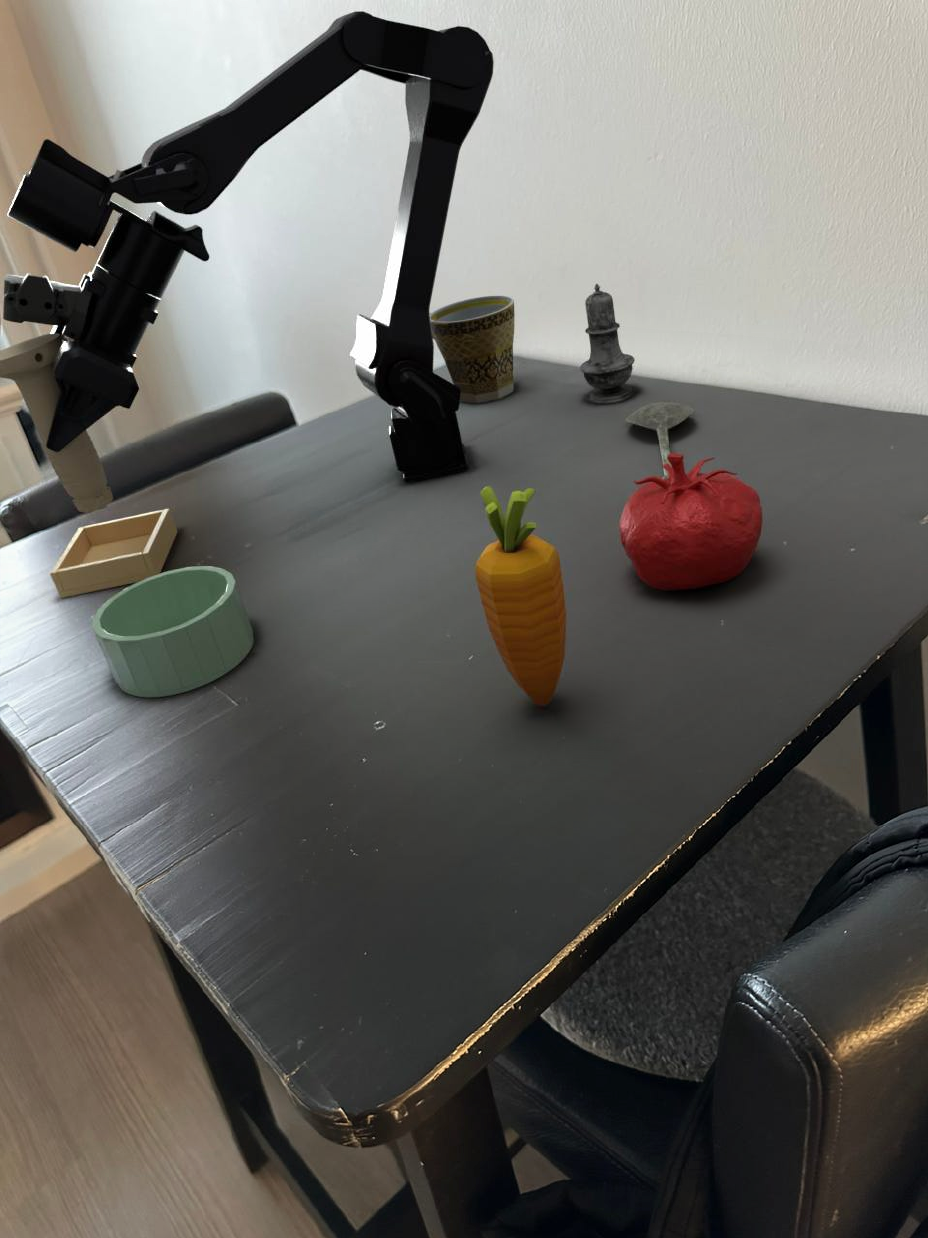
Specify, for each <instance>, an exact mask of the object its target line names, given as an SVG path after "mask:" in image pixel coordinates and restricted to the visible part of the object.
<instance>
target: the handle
mask: <svg viewBox="0 0 928 1238" xmlns="http://www.w3.org/2000/svg"><path fill="white" fill-rule="evenodd" d="M62 344H64V341H63V340H62V339H61V336H60V334H57V333H52V334H50V333H46V334H42V335H38V336H35V337H33V338H29V339H26V340H24V341H23V340H22V341H21V342H18V343H16V344H13V345H11V346H8V347H6V348H4V349H1V350H0V378H1V379H7V380H11V381H13V382H14V383H15V385H16V387H17V388H18V390H19V391H20V393H21V396H22V398H23V400H24V403H25V405H26V408H27V410H28V412H29V415H30V417H31V419H32V422H33V425H34V427H35V429H36V431H37V434H38V437H39V439H40V441H41V444H42V447H43V449H44V452H45V454H46V456H47V459H48V460H49V461H48V462H49V463H50V465H51V467H52V469H53V470H54V473H55V474H56V476H57V477H58V480H59V482H60V483H61V485H62V486H63V488H64V489H65V491H66V492H67V494H68V495H69V496H70V497H71V498H73V499H72V503H73V506H75V508H76V509H77V511H78V512H79V513H84V514H92V513H93V512H96V511H101V510H103V509H105V508H107V507H108V505H109V504H110V503H112V502H113V501H114V495H113V492H112V490H111V487H110V486H107V484H108V480H107V477H106V473H105V469H104V467H103V464H102V460H101V459H100V456H99V454H98V452H97V451H98V450H97V449H96V447H95V444H94V442H93V440H92V438H91V436H90V435H89V432H88V430H87V429H86V430H85V431H84V432H83V433H81V434H80V435H79V436H78V437H76V438H75V439H74V440H73V441H72V442H70V443H69V444H68V445H67V446H65V447H64V448H63V449H62V450H60V451H59V452H54V451H52V450H50V449H48V448H47V447H46V442H47V438H48V434H49V430H50V426H51V422H52V418H53V415H54V411H55V407H56V403H57V399H58V395H59V391H60V389H59V386H58V384H57V382H56V380H55V377H54V376H53V374H52V371H51V362H52V363H54V362H55V359H56V357H57V354H58V352H59V350H60V348H61V346H62Z"/></svg>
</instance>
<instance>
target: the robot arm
mask: <svg viewBox="0 0 928 1238" xmlns="http://www.w3.org/2000/svg"><path fill="white" fill-rule="evenodd" d="M494 64H495V61H494V54H493V52H492V51H491V49H490V48H489V45H488V43H487V41H486V40H485V38H484V37H483V35H481V34H480V33H479V32H478V31H477V30H474V29H472V28H471V27H469V26H460V25H457V26H453V27H452V26H451V27H448V28H444V29H440V30H435V29H432V28H428V27H424V26H418V25H415V24H414V25H413V24H407V23H403V22H398V21H393V20H389V19H384V18H382V17H378V16H375V15H372V14H371V13H368V12H367V11H363V10H361V11H351V12H350V13H347V14H344V15H342V16H340V17H337V18H336V19H335V20H333V22H332V23H331V25H330V26H329V27H328V28H327V30H325V31H324V32H323V33H321V34H320V35H319V36H318V37H316V38H315V39H314V40H312V41H311V42H310V43H308V44H307V45H306V46H304V47H303V48H302V49H300V50H299V51H298V52H296V53H295V54H294V55H293V56H292V57H290V58H289V59H287V60H286V61H285V62H284V63H282V64H281V65H280V66H278V67H277V68H276V69H274V70H273V71H272V72H271V73H269V74H268V75H267V76H265V77H264V78H263V79H261V80H260V81H258V82H257V83H256V84H255V85H254V86H252V87H251V88H250V89H248V90H247V91H246V92H244V93H243V94H242V95H241V96H239V97H237V99H235V100H234V101H233V102H231V103H230V104H228V105H227V106H226V107H224V108H223V109H220V110H219V111H216V112H214V113H213V114H212V113H211V114H210V115H208V116H206V117H204V118H202V119H199V120H197V121H194V122H193V123H190V124H188V125H186V126H184V127H182V128H180V129H178V130H176V131H173V132H172V133H170V134H168V135H165V136H164V137H162V138H159V139H157V140H155V141H154V142H152V143H151V144H150V145H149V147H147V149H146V150H145V151H144V153H143V156H142V158H141V162H139V163H138V164H136V165H132V166H131V167H128V168H126V169H124V170H119V169H116V171H115V173H114V174H112V175H110V176H107V175H105V174H103V173H102V172H100V171H98V170H96V169H95V168H93V167H91V166H90V165H88V164H86V163H84V162H83V161H81V160H79V159H78V158H76V157H74V156H73V155H71V154H70V153H69V151H67V150H66V149H64V148H63V147H62V146H60V145H59V144H57V143H56V142H55V141H52V140H50V139H49V138H45V139H43V141H42V143H41V146H40V148H39V150H38V152H37V154H36V156H35V158H34V160H33V162H32V164H31V166H30V169H29V171H28V173H27V172H25V173H24V175H23V177H22V180H21V182H20V184H19V186H18V189H17V191H16V193H15V195H14V198H13V199H12V203H11V205H10V206H9V209H8V212H7V217H9V218H10V219H12V220H15V221H17V222H18V223H20V224H22V225H23V226H25V227H27V228H29V229H32V230H33V231H35V232H36V233H39V234H40V235H42V236H44V237H46V238H48V239H50V240H51V241H54V242H55V243H57V244H59V245H61V246H63V247H64V248H66V249H68V250H70V251H72V252H73V253H77V252H78V251H79V249H80V248H81V245H84V246H86V247H87V248H88V247H91V248H92V249H95V248H96V246H97V245H98V243H99V241H100V240H101V237H102V236H103V234H104V232H105V229H106V227H107V225H108V222H109V221H110V219H111V216H112V213H113V212H114V211H115V212H116V213H118V214H119V215H118V216H117V219H116V222H115V224H114V225H113V228H112V230H111V232H110V234H109V235H108V238H107V240H106V243H105V244H104V247H103V248H102V251H101V253H100V254H99V257H98V259H97V261H96V263H95V266H94V267H93V270H92V271H89V272H88V274H87V273H84V274H83V276H82V278H81V281H80V282H79V284H78V285H74V284H69V283H64V282H60V281H53V280H49V277H48V276H47V275H43V276H40V275H39V276H38V275H33V274H32V272H27V273H26V275H25V276H23V275H16V274H5V275H4V279H3V307H2V319H3V320H4V321H7V322H11V323H16V324H22V323H24V322H26V323H33V324H40V325H41V324H42V325H47V326H53V327H52V329H51V331H50V333H49V334H52V333H57V334H60V336H61V339H62V341H63V343H64V344H62V346H61V348H60V350H59V352H58V354H57V357H56V359H55V362H54V363H52V362H51V371H52V374H53V376H54V377H55V380H56V382H57V384H58V386H59V389H60V391H59V395H58V399H57V403H56V407H55V411H54V415H53V418H52V422H51V426H50V430H49V434H48V438H47V442H46V447H47V448H48V449H50V450H52V451H54V452H59V451H60V450H62V449H63V448H64V447H65V446H67V445H68V444H69V443H70V442H72V441H73V440H74V439H75V438H76V437H78V436H79V435H80V434H81V433H83V432H84V431H85V430H86V431H87V430H88V429H89V428H90V427H92V426H93V425H94V424H95V423H97V422H98V421H99V420H101V419H102V418H103V417H104V416H106V415H107V414H108V413H110V412H111V411H112V410H114V409H115V408H117V407H121V408H125V409H128V410H130V409H131V407H132V405H133V403H134V400H135V399H136V397H137V395H138V393H139V390H140V386H139V384H138V382H137V379H136V376H135V374H134V370H133V367H134V365H135V363H136V361H137V358H138V357H137V354H136V352H137V349H138V347H139V345H140V343H141V341H142V340H143V337H144V335H145V333H146V330H147V329H148V327H149V325H150V324H151V325H154V324H155V322H156V320H157V318H158V316H159V312H158V311H157V308H158V306H159V304H160V302H161V299H162V298H163V296H164V294H165V292H166V290H167V288H168V286H169V283H170V282H171V279H172V277H173V275H174V274H175V272H176V269H177V268H178V265H179V263H180V261H181V259H182V257H183V255H184V253H185V252H186V253H188V254H190V255H192V256H193V257H195V258H196V259H198V260H200V261H202V262H208V261H209V260H210V254H209V252H208V250H207V247H206V245H205V241H204V235H203V234H204V233H203V231H204V230H203V227H201V226H200V225H198V224H194V225H191V226H188V227H184V226H182V225H180V224H179V223H177V222H175V221H174V220H172V219H170V218H169V217H167V216H165V215H164V214H161V213H160V212H158V211H156V210H153V211H152V212H151V213H150V214H149V215H148V217H147V219H145V218H143V217H141V216H140V215H138V214H136V213H134V212H132V211H130V210H129V209H127V208H125V207H124V206H122V205H120V204H118V203H117V202H115V201H113V200H112V199H111V198H112V196H113V194H115V193H116V194H117V195H119V196H121V197H122V198H125V200H128V201H130V202H131V203H133V204H138V205H139V204H154V203H155V204H159V205H160V206H162V207H163V208H165V209H168V210H170V211H171V212H173V213H176V214H181V215H189V216H190V215H191V216H192V215H196V214H199V213H201V212H204V211H205V210H207V209H208V208H209V207H211V206H212V205H213V204H214V202H215V201H216V200H217V199H218V198H219V197H220V196H221V194H222V193H223V192H224V191H225V190H226V189H227V188H228V187H229V186H230V184H231V183H232V182H233V181H234V180H235V179H236V177H237V176H238V175H239V173H240V172H241V170H242V169H243V168H244V166H245V165H246V164H247V163H248V161H249V160H250V159H251V157H252V156H253V155H254V154H255V153H256V152H257V151H258V149H259V148H261V147H262V146H263V145H265V144H266V143H267V142H268V141H270V140H271V139H272V138H273V137H275V136H276V135H278V134H279V133H280V132H282V131H283V130H284V129H285V128H287V127H288V126H289V125H290V124H292V123H293V122H294V121H296V120H297V119H298V118H300V117H301V116H302V115H303V114H305V113H306V112H307V111H309V110H310V109H312V108H313V107H314V106H315V105H317V104H319V102H321V101H322V100H323V99H325V98H326V97H327V96H329V95H330V94H331V93H332V92H334V91H335V90H336V89H337V88H339V87H340V86H342V85H343V84H344V83H345V82H347V81H348V80H350V78H352V77H353V76H354V75H356V74H357V73H358V72H360V71H363V72H366V73H369V74H372V75H375V76H378V77H381V78H383V79H385V80H389V81H392V82H396V83H400V84H403V85H405V93H404V94H405V99H404V101H405V109H406V116H407V123H408V130H409V131H408V132H409V144H408V150H407V155H406V162H405V167H404V172H403V179H402V183H401V190H400V195H399V201H398V207H397V213H396V218H395V224H394V230H393V235H392V242H391V247H390V253H389V259H388V264H387V269H386V270H387V271H386V276H385V282H384V288H383V292H382V297H381V300H380V302H379V304H378V306H377V308H376V309H375V311H374V313H373V314H372V316H371V317H368V316H367V315H363V314H361V313H360V314H358V315H357V319H356V336H355V337H356V338H355V342H354V345H353V347H352V350H351V351H350V353H349V356H350V357H351V358H352V359H354V361H355V372H356V376H357V377H358V379H359V381H360V382H361V384H362V385H363V386H364V387H365V389H367V390H369V391H370V392H372V393H373V394H374V395H375V396H377V397H378V398H379V399H381V400H382V401H383V402H384V403H386V404H387V405H388V406H391V407H393V408H391V410H390V412H391V413H390V415H391V417H390V418H391V424H390V425H389V426H388V436H389V440H390V444H391V447H392V453H393V456H394V461H395V464H396V468H397V472H399V473H402V476H403V477H402V478H403V482H404V483H409V482H410V483H411V482H415V481H419V480H420V481H421V480H424V479H429V478H434V477H438V476H443V475H447V474H452V473H458V472H462V471H466V470H469V462H468V458H467V453H466V448H465V444H464V443H463V438H462V434H461V431H460V430H461V429H460V425H459V419H458V416H457V412H458V411H459V410H460V402H461V400H460V395H461V389H460V388H459V387H457V386H455V385H454V384H453V382H450V381H448V380H447V379H445V378H444V377H442V376H440V375H438V374H437V373H436V372H434V355H435V354H434V353H435V345H434V339H433V336H432V329H431V322H430V315H429V313H430V308H431V302H432V298H433V297H432V296H433V291H434V287H435V281H436V277H437V271H438V270H437V269H438V265H439V261H440V254H441V251H442V244H443V239H444V235H445V229H446V223H447V219H448V214H449V213H448V212H449V208H450V203H451V197H452V192H453V187H454V181H455V177H456V172H457V171H456V170H457V166H458V161H459V155H460V151H461V148H462V146H463V144H464V142H465V140H466V139H467V137H468V135H469V133H470V132H471V130H472V128H473V126H474V124H475V122H476V121H477V119H478V117H479V115H480V113H481V110H482V107H483V104H484V101H485V99H486V96H487V93H488V91H489V87H490V85H491V82H492V79H493V75H494V66H495V65H494Z"/></svg>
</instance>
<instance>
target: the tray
mask: <svg viewBox="0 0 928 1238" xmlns="http://www.w3.org/2000/svg"><path fill="white" fill-rule="evenodd" d="M177 534H178V529H177V526H176V523H175V521H174V518H173V514H172V513H171V510H170V508H164V509H160V510H159V509H158V510H155V511H149V512H146V513H140V514H137V515H132V516H126V517H122V518H118V519H113V520H108V521H104V522H99V523H94V524H88V525H85V526H80V527H78V529H77V530H76V532H75V534H74V535H73V536H72V538H71V540H70V541H69V543H68V544H67V546H66V548H65V549H64V551H63V552H62V554H61V555H60V557H59V559H58V560H57V562H56V563H55V565H54V567H53V568H52V570H51V571H50V573H49V575H50V577H51V579H52V581H53V584H54V586H55V588H56V591H57V592H58V595H59V597H60V599H63V598H64V599H65V598H68V597H74V596H77V595H83V594H87V593H92V592H97V591H101V590H107V589H111V588H115V587H121V586H125V585H130V584H136V583H138V582H140V581H142V580H144V579H146V578H149V577H152V576H155V575H158V574H161V573H162V569H163V567H164V564H165V562H166V560H167V558H168V555H169V553H170V551H171V548H172V546H173V544H174V541H175V539H176V537H177Z"/></svg>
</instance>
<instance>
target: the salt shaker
mask: <svg viewBox="0 0 928 1238" xmlns="http://www.w3.org/2000/svg"><path fill="white" fill-rule="evenodd" d="M593 289H594V290H595V291H594V292H593V293H591V294H590V295H588V297H587V298H585V302H584V303H585V304H584V306H585V311H586V320H587V328H585V330H584V332H585V333H586V334H587V335H588V339H589V347H590V354H589V359H587V360H585V361H584V362H582V363H581V365H580V366H579V371H581V372H582V373H583V378H584V379H585V381H586V382H587V384H588V385H590V386H591V388H593V390H591V391H590V392H589V393H588V395H587V396H586V400H587V401H588V402H589V403H590V404H591V403H592V404H596V405H607V404H608V405H609V404H614V403H619V402H622V401H626V400H628V399H630V398H632V397H633V396H634V395H635V394H636V392H637V391H636V388H635V387H634V386H631V385H630V384H627V382H628V381H629V380H630V378H631V376H632V372H633V368H634V367H633V364H634V363H635V361H636V359H635V357H634V356H633V355H631V354H628V353H624V352H623V351H622V348H621V346H620V341H619V333H618V330H619V328H620V327H621V325H620V323H619V322H616V315H615V308H614V307H615V306H614V299H613V296H612V295H611V294H610V293H609V292H605V291H603V290H601V286H600V285H599V284H598V283H595V285H594V287H593Z"/></svg>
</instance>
